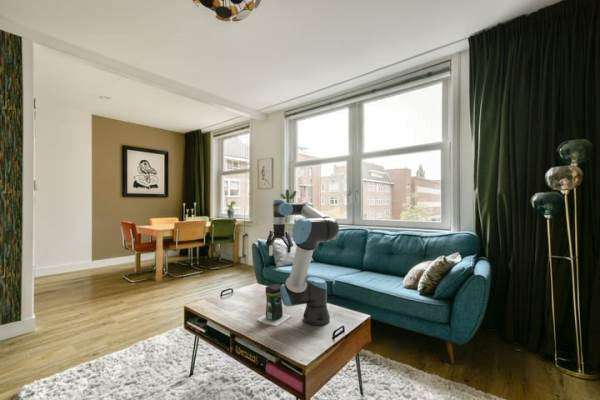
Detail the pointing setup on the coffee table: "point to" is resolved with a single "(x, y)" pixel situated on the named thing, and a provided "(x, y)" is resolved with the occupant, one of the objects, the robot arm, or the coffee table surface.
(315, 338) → the coffee table surface
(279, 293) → the coffee jar
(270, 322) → the plate
